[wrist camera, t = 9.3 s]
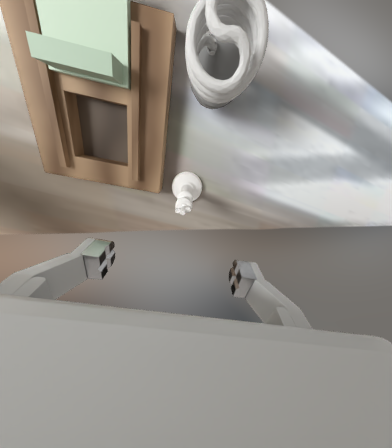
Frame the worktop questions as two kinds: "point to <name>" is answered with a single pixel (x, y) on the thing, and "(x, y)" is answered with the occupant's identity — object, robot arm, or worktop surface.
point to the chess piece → (186, 191)
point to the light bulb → (225, 48)
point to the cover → (85, 39)
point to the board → (100, 104)
